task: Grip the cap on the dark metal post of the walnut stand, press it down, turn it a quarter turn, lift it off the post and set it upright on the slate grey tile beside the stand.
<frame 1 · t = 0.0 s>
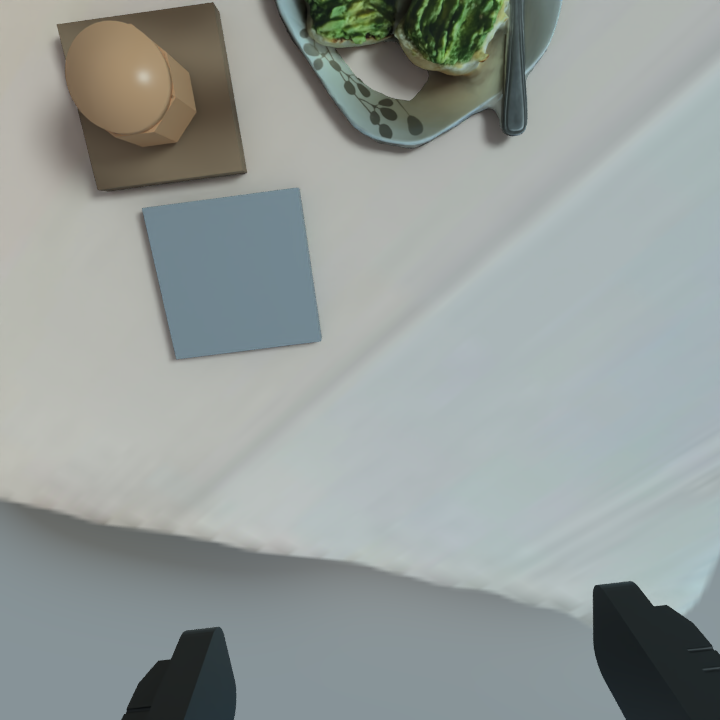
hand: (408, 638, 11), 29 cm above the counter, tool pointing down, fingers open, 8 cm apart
tile: (237, 275, 38), on the counter
post stand: (161, 105, 35), on the counter
cap: (150, 98, 33), point 2 cm above the counter, touching post stand
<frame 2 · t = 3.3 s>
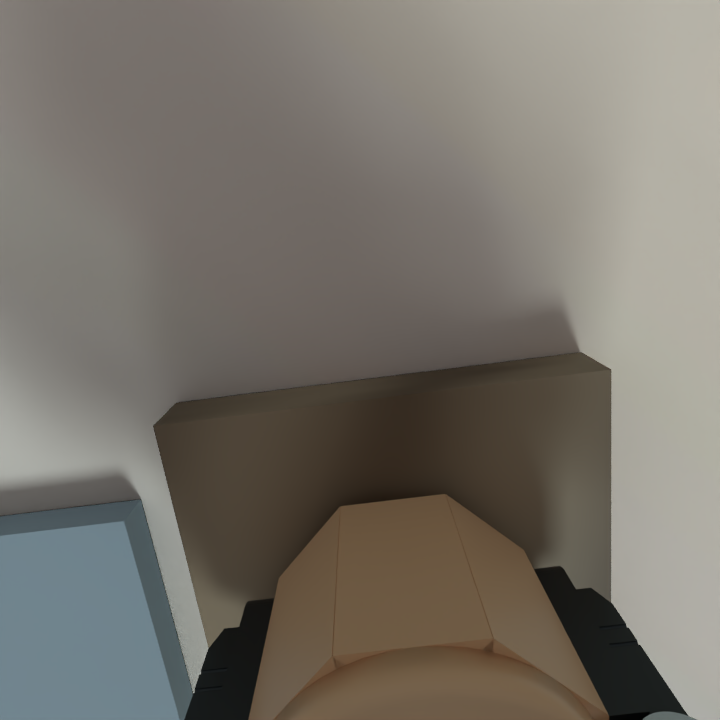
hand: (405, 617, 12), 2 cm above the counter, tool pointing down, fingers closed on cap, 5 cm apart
tile: (0, 689, 15), on the counter
post stand: (398, 553, 14), on the counter
cap: (405, 606, 12), point 2 cm above the counter, touching gripper, post stand
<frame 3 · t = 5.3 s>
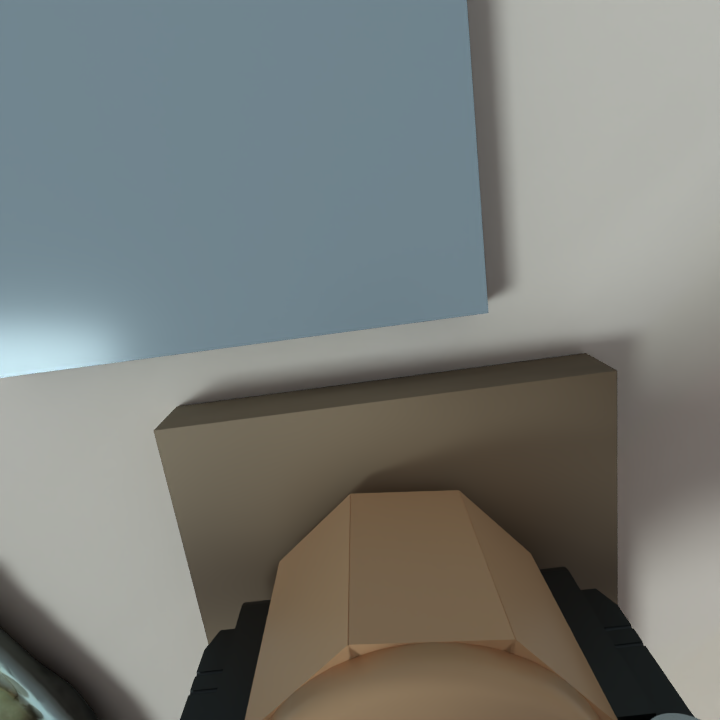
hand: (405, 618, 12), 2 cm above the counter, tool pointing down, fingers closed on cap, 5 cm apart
tile: (195, 81, 11), on the counter
post stand: (402, 556, 14), on the counter
cap: (405, 601, 12), point 2 cm above the counter, touching gripper, post stand
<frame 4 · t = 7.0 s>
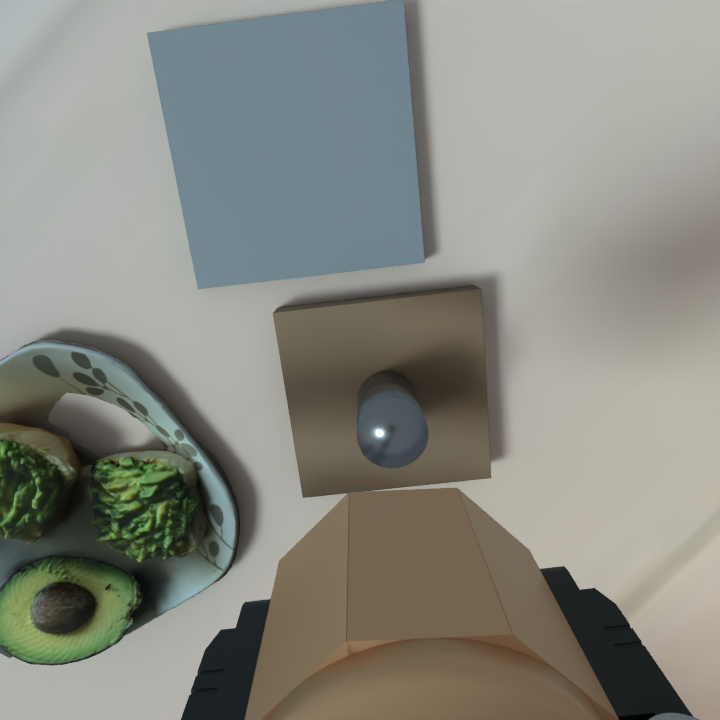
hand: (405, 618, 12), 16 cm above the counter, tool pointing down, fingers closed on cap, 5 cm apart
tile: (296, 156, 24), on the counter
post stand: (385, 389, 27), on the counter
salad plate: (84, 502, 30), on the counter
cap: (405, 599, 12), point 16 cm above the counter, touching gripper
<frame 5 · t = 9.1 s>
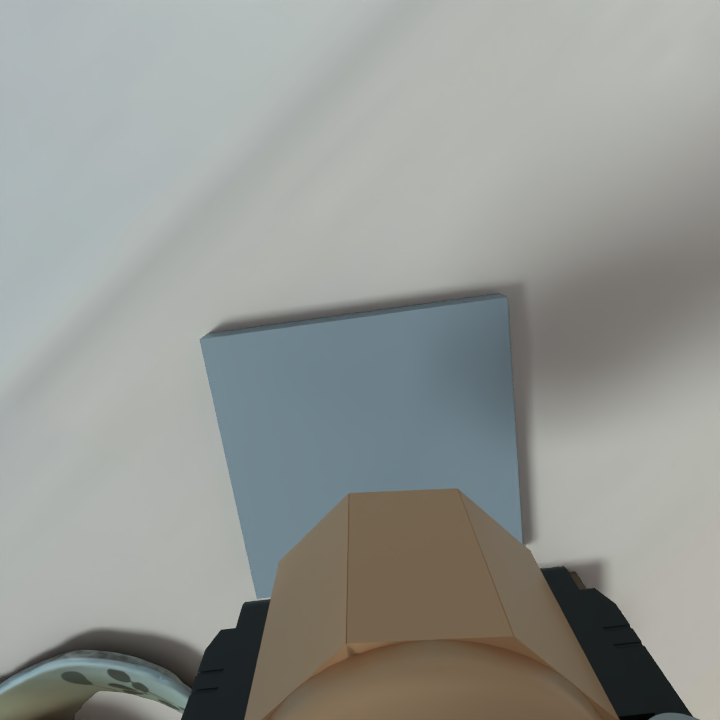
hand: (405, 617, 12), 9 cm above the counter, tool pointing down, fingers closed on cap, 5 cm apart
tile: (371, 448, 20), on the counter
cap: (405, 600, 12), point 9 cm above the counter, touching gripper
when the fingers open (3 cm above the counter, at t = 10.8 s): cap drops 2 cm, resting on tile.
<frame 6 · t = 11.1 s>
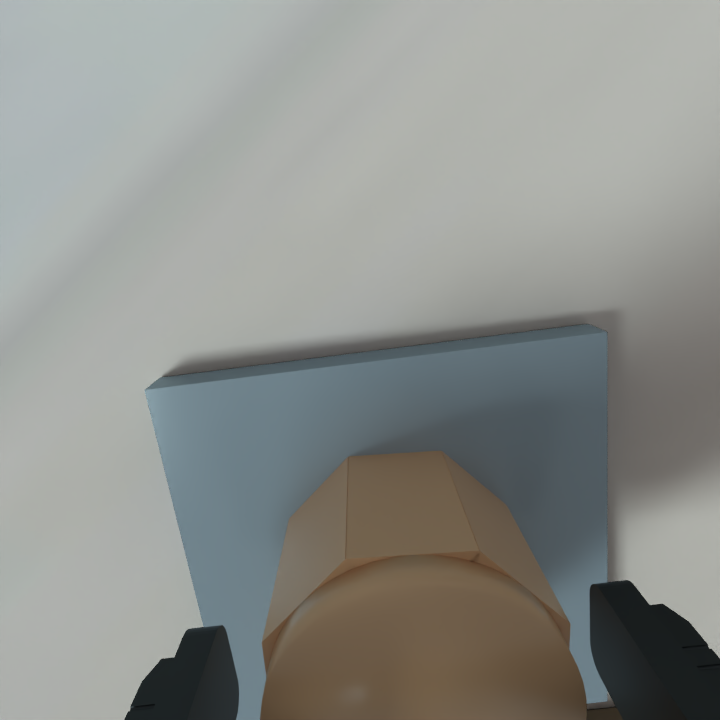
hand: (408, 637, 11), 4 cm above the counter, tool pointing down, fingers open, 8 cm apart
tile: (395, 538, 14), on the counter
cap: (399, 551, 13), point 1 cm above the counter, touching tile
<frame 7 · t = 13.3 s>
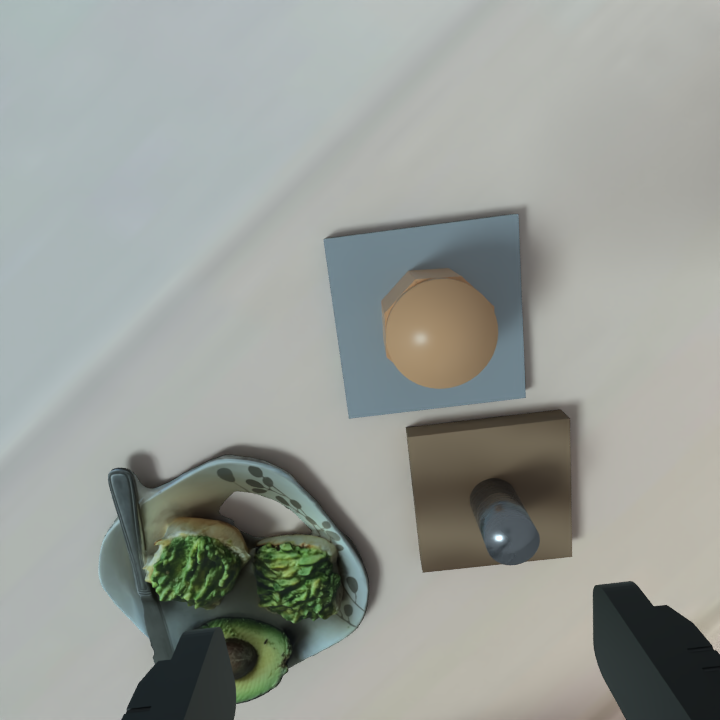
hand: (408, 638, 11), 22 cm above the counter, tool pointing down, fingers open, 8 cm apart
tile: (426, 318, 31), on the counter
post stand: (487, 487, 34), on the counter
salad plate: (239, 571, 37), on the counter
cap: (429, 317, 30), point 1 cm above the counter, touching tile
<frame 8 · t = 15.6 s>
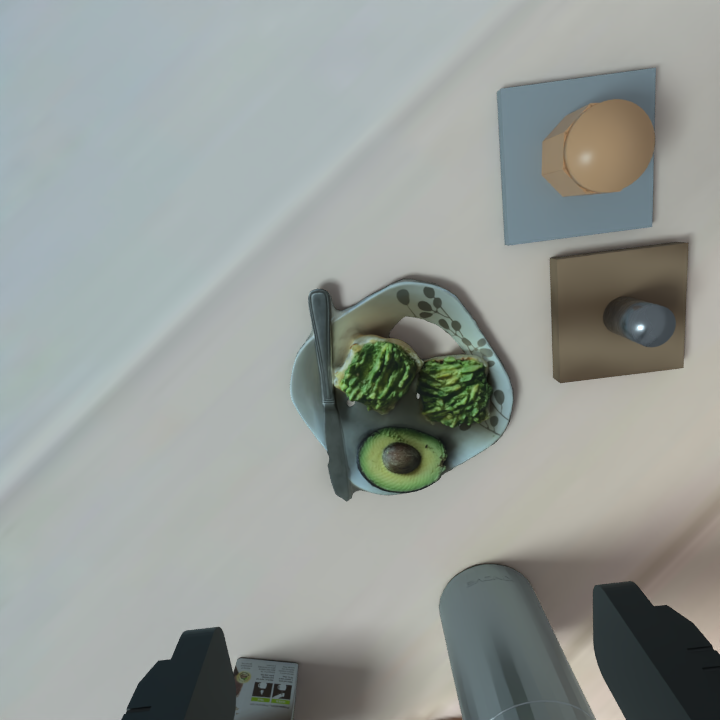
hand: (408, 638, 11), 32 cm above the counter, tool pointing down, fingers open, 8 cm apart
tile: (573, 161, 39), on the counter
post stand: (612, 312, 42), on the counter
salad plate: (399, 394, 44), on the counter
coffee box: (264, 693, 52), on the counter
cap: (579, 155, 38), point 1 cm above the counter, touching tile
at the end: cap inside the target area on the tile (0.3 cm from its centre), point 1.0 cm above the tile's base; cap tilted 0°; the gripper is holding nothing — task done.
